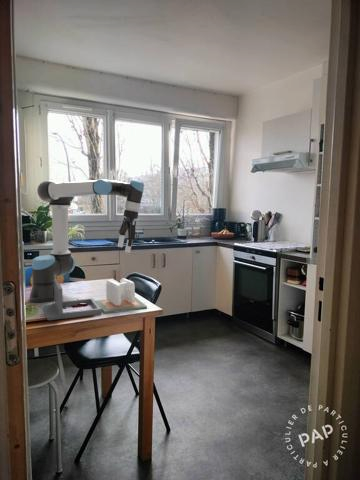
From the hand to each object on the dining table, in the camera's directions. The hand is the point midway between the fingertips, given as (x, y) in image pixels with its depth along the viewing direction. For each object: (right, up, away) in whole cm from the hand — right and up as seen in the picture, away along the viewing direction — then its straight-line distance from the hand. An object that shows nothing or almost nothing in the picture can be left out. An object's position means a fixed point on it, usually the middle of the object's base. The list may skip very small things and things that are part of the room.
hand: (123, 249), depth 182 cm
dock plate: (-1, -29, -2) cm, 29 cm away
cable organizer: (-2, -28, -1) cm, 28 cm away
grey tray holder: (-23, -30, -13) cm, 40 cm away
